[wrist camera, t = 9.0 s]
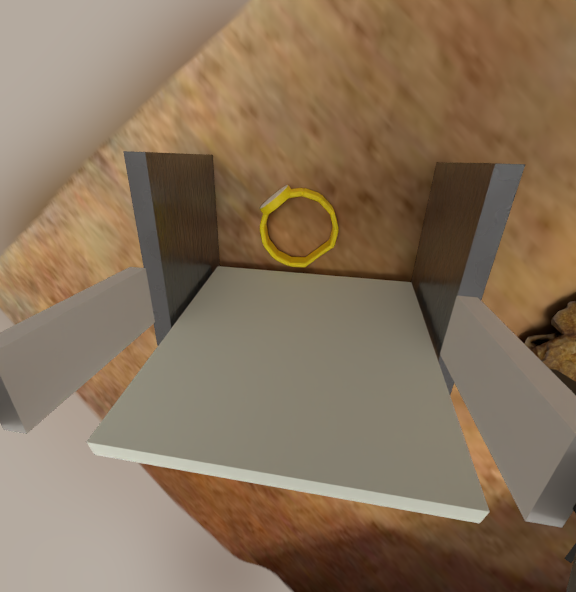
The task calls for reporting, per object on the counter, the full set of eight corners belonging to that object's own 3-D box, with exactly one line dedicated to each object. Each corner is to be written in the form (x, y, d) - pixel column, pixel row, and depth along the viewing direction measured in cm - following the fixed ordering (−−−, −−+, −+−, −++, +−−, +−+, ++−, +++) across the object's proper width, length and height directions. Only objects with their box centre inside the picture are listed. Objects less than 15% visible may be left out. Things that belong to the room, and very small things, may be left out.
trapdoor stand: (454, 163, 21) (524, 164, 13) (399, 394, 30) (421, 482, 22) (197, 154, 24) (123, 151, 16) (216, 370, 32) (174, 441, 24)
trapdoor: (408, 292, 24) (411, 282, 24) (479, 523, 11) (489, 512, 11) (219, 276, 27) (217, 266, 26) (94, 454, 13) (86, 442, 13)
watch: (348, 230, 25) (308, 167, 23) (352, 242, 23) (308, 172, 20) (289, 267, 27) (247, 212, 25) (287, 282, 25) (240, 222, 22)
